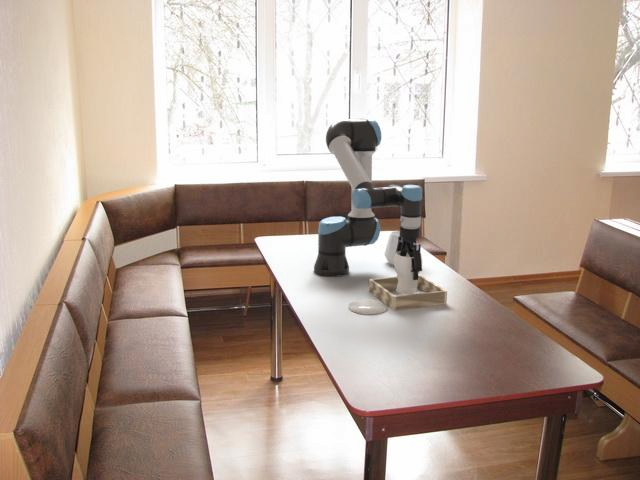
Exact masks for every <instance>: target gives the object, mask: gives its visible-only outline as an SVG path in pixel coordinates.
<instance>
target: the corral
mask: <svg viewBox="0 0 640 480" xmlns="http://www.w3.org/2000/svg"><path fill="white" fill-rule="evenodd" d="M368 281H369V284H368V292H369V293H370V294H371V295H373V296H375V298H377V299H378V300H379V301H380V302H381V303H384V304H385V305H386V306H387V307H389V308H390V309H391V310H392V311H398V310H406V309H414V308H422V307H431V306H440V305H447V303H448V302H447V299H448V291H447V290H446V289H445V288H443V287H441V286H439V285H438V284H436V283H435V282H433V281H431V280H430V279H428V278H426V277H425V276H423V275H422V274H420V273H419V274H418V287H417V289H418V288H419V289H420V290H421V291H422V292H420V293H415V294H401V295H394V294H393V293H392V292H390V291H394V290H397V285H398V279H397V276H391V277H388V276H387V277H380V278H379V277H378V278H369V280H368Z"/></svg>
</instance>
